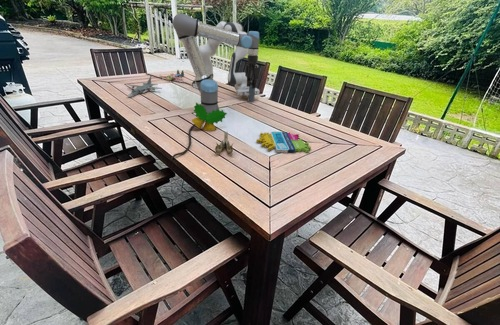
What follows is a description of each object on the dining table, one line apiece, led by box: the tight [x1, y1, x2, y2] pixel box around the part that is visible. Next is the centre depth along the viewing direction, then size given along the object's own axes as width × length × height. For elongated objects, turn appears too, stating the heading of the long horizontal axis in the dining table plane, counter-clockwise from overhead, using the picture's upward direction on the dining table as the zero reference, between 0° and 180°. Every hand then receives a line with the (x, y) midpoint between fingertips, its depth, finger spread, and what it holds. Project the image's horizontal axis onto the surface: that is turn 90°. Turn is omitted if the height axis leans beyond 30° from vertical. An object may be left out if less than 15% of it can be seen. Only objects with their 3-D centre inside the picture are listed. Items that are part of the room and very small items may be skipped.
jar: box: [247, 85, 256, 103], centre depth 219 cm, size 5×5×16 cm
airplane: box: [127, 75, 162, 98], centre depth 225 cm, size 38×32×10 cm
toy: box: [159, 69, 185, 82], centre depth 278 cm, size 28×7×30 cm
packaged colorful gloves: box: [256, 131, 312, 154], centre depth 152 cm, size 26×2×30 cm
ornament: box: [191, 102, 228, 132], centre depth 162 cm, size 21×8×15 cm, turn 105°
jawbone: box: [214, 131, 234, 156], centre depth 136 cm, size 9×15×10 cm
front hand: (251, 87), depth 200 cm, fingers closed on lid, 6 cm apart
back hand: (252, 94), depth 220 cm, fingers closed on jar, 5 cm apart
